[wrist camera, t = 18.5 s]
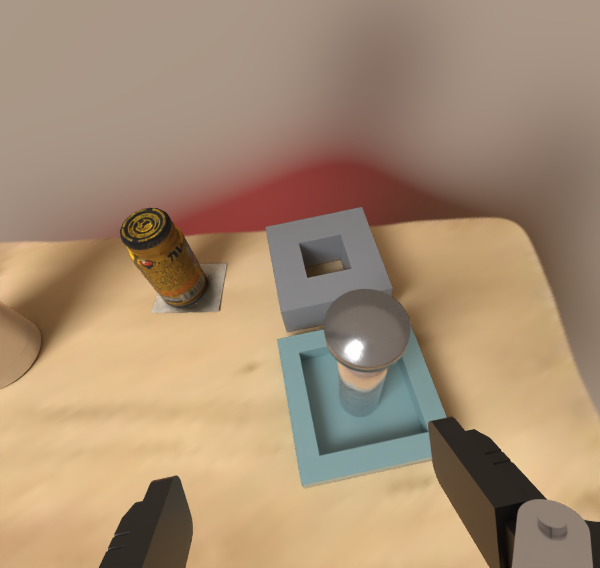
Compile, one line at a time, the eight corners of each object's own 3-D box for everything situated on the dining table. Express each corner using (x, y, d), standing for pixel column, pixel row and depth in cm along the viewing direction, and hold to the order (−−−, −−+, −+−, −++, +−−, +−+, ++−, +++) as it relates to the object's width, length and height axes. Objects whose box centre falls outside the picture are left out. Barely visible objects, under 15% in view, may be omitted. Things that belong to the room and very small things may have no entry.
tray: (304, 488, 35) (301, 485, 33) (281, 350, 43) (277, 339, 40) (451, 456, 36) (459, 450, 33) (402, 324, 43) (405, 311, 41)
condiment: (165, 265, 51) (122, 201, 41) (227, 264, 50) (198, 198, 40) (152, 313, 47) (100, 256, 37) (218, 313, 46) (184, 253, 36)
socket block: (286, 332, 44) (280, 312, 40) (271, 251, 51) (265, 226, 46) (388, 311, 44) (392, 288, 40) (360, 233, 51) (361, 207, 47)
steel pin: (338, 431, 37) (334, 374, 23) (325, 376, 40) (316, 297, 26) (394, 419, 37) (423, 355, 23) (377, 365, 40) (394, 281, 27)
